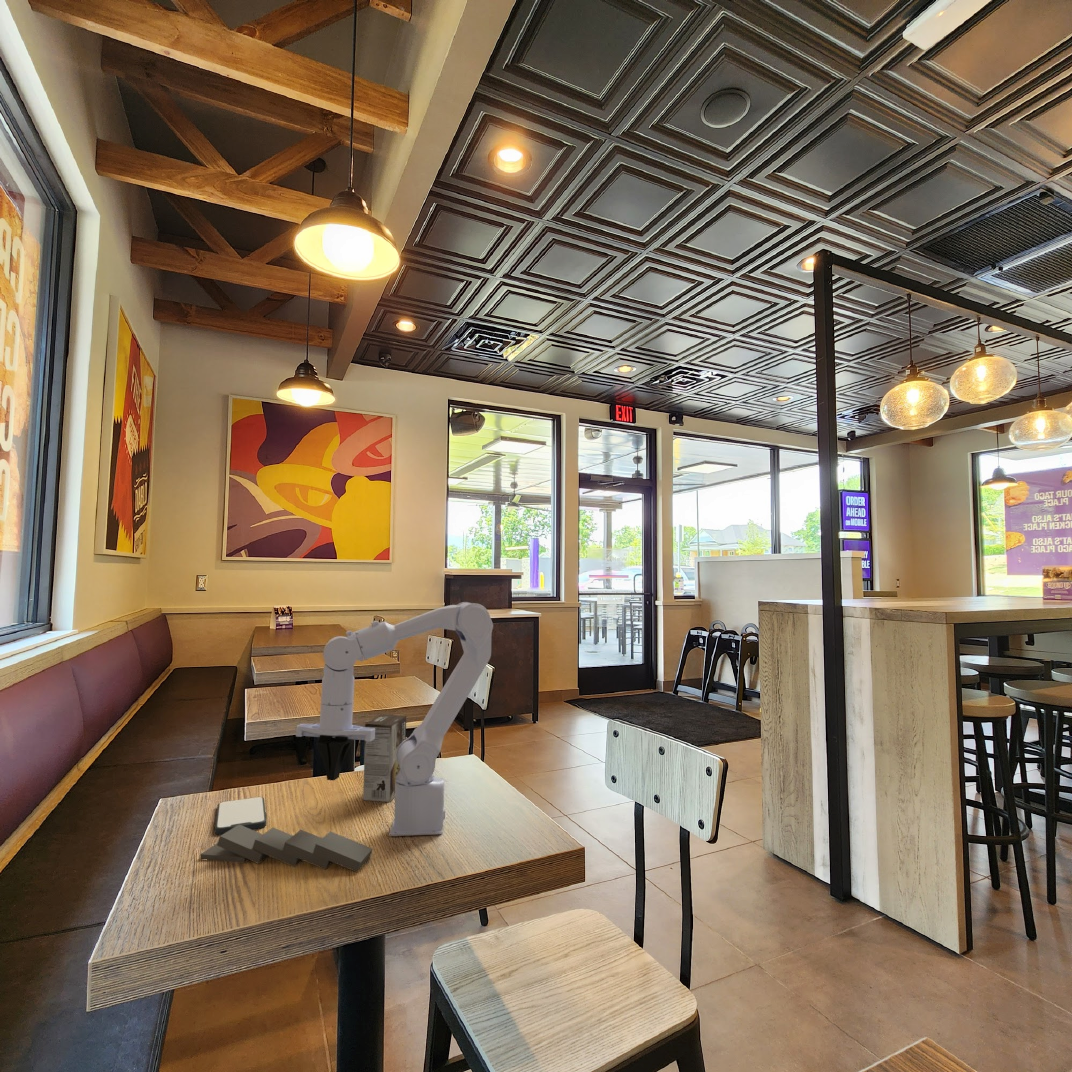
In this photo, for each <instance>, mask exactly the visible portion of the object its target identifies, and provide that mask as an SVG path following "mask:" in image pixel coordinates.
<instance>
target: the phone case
mask: <svg viewBox="0 0 1072 1072" xmlns="http://www.w3.org/2000/svg"><path fill="white" fill-rule="evenodd" d="M215 816H216V818H215V819H214V834H216V835H215V836H221V835H223V834H224V833H226V832H228V831H229V830H231V829H232V828H234V827H236V826H237V825H239V824H240V825H242V826H244V827H247V828H249V829H251V830H254V831H257V830H262V829H264V828H266V827H267V811H266V804H265V798H264V797H262V796H257V797H256V796H255V797H249V798H241V799H233V800H228V801H227V800H226V801H222V802H221V801H220V802H219V803H217V808H216V815H215ZM265 826H266V827H265Z"/></svg>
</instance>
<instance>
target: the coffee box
mask: <svg viewBox="0 0 1072 1072" xmlns="http://www.w3.org/2000/svg"><path fill="white" fill-rule="evenodd" d="M364 727H367V728H375V739H374V740H372V741H370V742H369V741H365V740H364V755H363V756H364V759H363V760H364V761H363V762H364V763H363V787H362V789H363V791H362V795H363V796H362V800H363V801H372V802H386V803H387V802H388V803H389V802H392V800H395V777H396V776H397V774H398V773H399V771H400V769H401V768H400V765H399V764H398V762H397V759H396V752H397V749H398V747H399V745H400V744H401V743H402V742H403V741H404V740H406V739H407V715H397V714H396V715H395V714H380V715H378V716H376V717H375V718H373V719H371V720H369V721H368V722H366V723H365V724H364Z"/></svg>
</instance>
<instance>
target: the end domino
mask: <svg viewBox="0 0 1072 1072" xmlns="http://www.w3.org/2000/svg"><path fill="white" fill-rule="evenodd" d="M217 844H218V842H217V843H215V844H213V846H211V847H209V848H208V849H205V851H203V852H201V853H200V857H199V859H200V860H201V859H207V860H206V861H213V860H216V862H228V863H240V864H245V863H246V862H248V861H249V859H247V858H245V857H242V856H240V855H238V854H235V853H233V852H231V851H228V850H226V849H224V848H221V847H219V846H217Z"/></svg>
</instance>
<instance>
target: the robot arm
mask: <svg viewBox="0 0 1072 1072" xmlns="http://www.w3.org/2000/svg"><path fill="white" fill-rule="evenodd" d="M370 624H371V625H370V626H367V627H363V628H361V629H358V630H356V631H352V630H348V631H345V635H346V636H343V635H342V636H341V635H340V636H339V635H338V636H335V637H332V638H331V639H329V641H328V642H327V643H325V646H324V649H323V651H322V655H323V661H324V662H325V663H324V666H323V668H322V669H323V670H322V672H323V676H322V679H321V680H322V681H321V691H320V692H321V693H320V694H321V695H320V715H319V723H300V724H297V725H296V728H295V729H296V730H295V737H297V738H298V737H299V738H301V737H304V736H305V737H313V738H315V737H316V738H319V739H318V740H317V741H316V742H315V747H316V749H317V751H318V752H319V755H320V757H321V760H322V762H323V766H324V770H325V774H326V775H325V776H326V780H327V781H335V780H337V779H338V778H340V774H341V770H342V766H343V763H344V761H345V758H346V757H347V754H348V751H349V750H350V748H351V746H352V745H353V742H354V741H355V740H359V741H364V742H365V741H369V742H370V741H372V740H374V739H375V728H367V727H365V726H360V725H354V724H353V719H354V718H353V717H354V715H353V713H354V712H353V711H354V695H355V680H356V679H355V676H354V670H355V669H354V668H355V666H354V665H355V664H356V662H357V661H360V662H364V661H365V660H368V659H372V658H375V657H377V656H381V655H383V654H386V653H388V652H389V653H390V652H391V651H394V650H395V649H396V646H397V644H398V643H399V641H401V640H402V641H403V640H405V639H407V638H410V637H411V638H412V637H414V636H418V635H421V634H424V633H427V632H430V631H433V630H437V629H441V630H449V631H455V633H456V634H457V635H458V637H459V640H460V643H461V647H462V650H463V654H462V656H461V657H460V659H459V661H458V663H457V664H456V666H455V668H453V671H452V672H451V674H450V675H449V677H448V679H447V680H446V682H445V684H444V686H443V687H442V689H441V691H440V692H439V694H438V695H437V696H436V698H435V700H434V702H433V704H432V705H431V707H430V709H429V710H428V712H427V714H426V715H425V717H424V718H423V720H422V722H421V723H420V724H418V726H416V727H415V728H414V730H413V731H412V733H410V736H408V737H406V740H404V741H403V742H402V743H401V744H400V745H399V747H398V749H397V752H396V759H397V762H398V764H399V765H400V768H401V769H400V771H399V773H398V774H397V776H396V777H395V798H394V813H393V814H394V819H393V821H392V825H391V827H390V831H389V836H390V837H401V836H404V837H405V836H407V837H409V836H427V835H428V836H430V835H432V836H433V835H434V836H435V835H441V834H443V829H444V820H445V819H446V809H445V778H442V777H441V778H439V777H435V774H434V772H435V769H436V760H437V757H438V756H439V754H440V752H441V750H442V746H443V745H442V744H443V740H444V737H445V736H446V734H447V733H448V730H449V729H450V727H451V725H452V724H453V722H454V721H455V718H456V717H457V715H458V713H459V712H460V710H461V709H462V707H463V705H464V703H465V702H466V700H467V699H468V696H469V695H470V694H471V692H472V690H473V688H474V686H475V685H476V683H477V681H478V680H479V678H480V676H481V675H482V673H483V671H484V669H486V666H487V665H488V663H489V661H490V660H491V657H492V634H493V633H492V632H493V629H494V623H493V621H492V618H491V615H490V612H489V611H488V609H487V608H486V607H485V606H484V605H482V604H480V603H473V602H468V601H463V602H459V603H458V604H450V605H446V606H445V605H444V606H442V607H438V608H435V609H432V610H430V611H427V612H423V613H422V614H420V615H419V614H418V615H417V616H414V617H412V618H410V619H409V618H408V619H407V620H403V621H401V622H399V623H396V624H390V623H389V622H387V621H381V622H379V621H378V620H375V621H371V622H370Z"/></svg>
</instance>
